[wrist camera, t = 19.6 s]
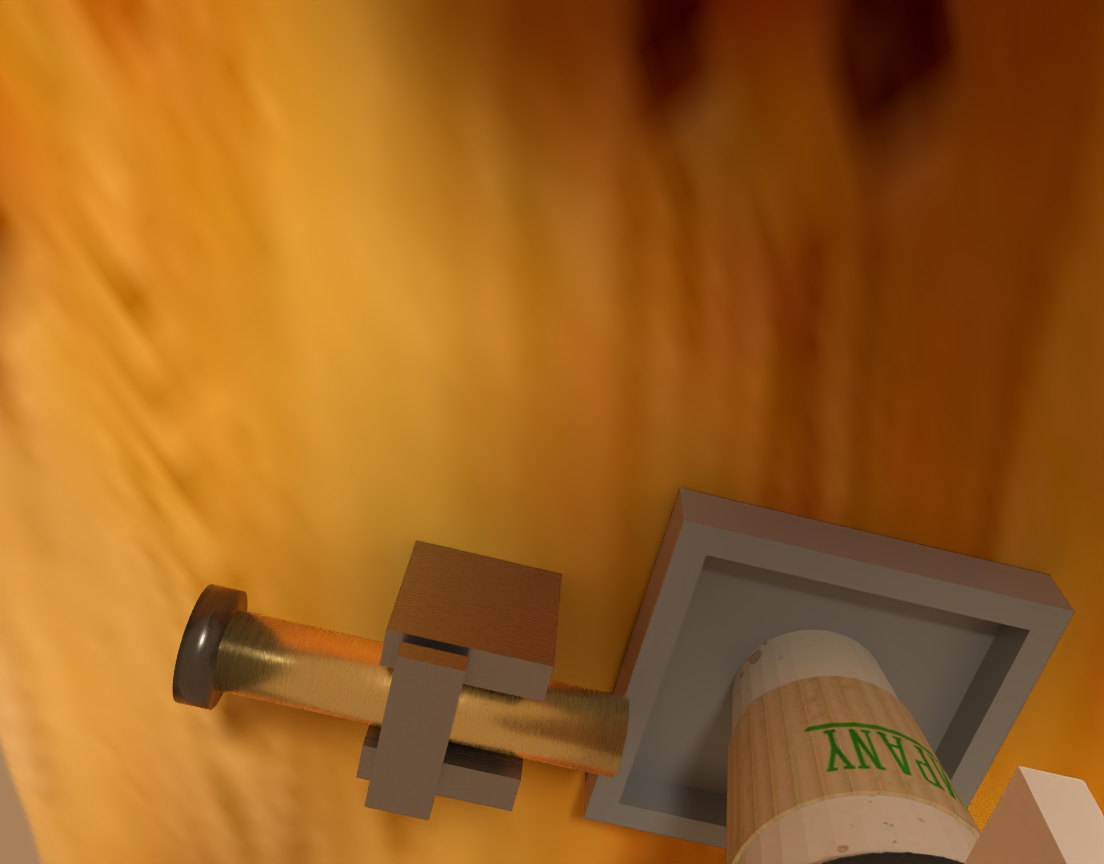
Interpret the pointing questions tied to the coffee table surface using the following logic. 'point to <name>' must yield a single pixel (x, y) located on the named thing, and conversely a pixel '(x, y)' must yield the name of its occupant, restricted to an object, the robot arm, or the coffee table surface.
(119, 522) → the coffee table surface
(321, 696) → the lock pin
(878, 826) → the coffee cup
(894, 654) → the grey square tray
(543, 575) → the pin mount
